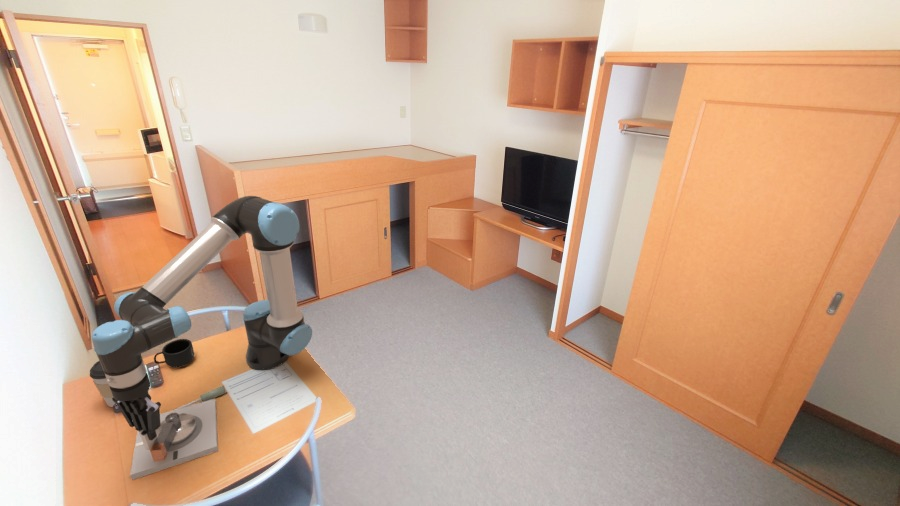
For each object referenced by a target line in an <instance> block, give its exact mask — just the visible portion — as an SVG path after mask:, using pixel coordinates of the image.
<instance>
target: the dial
mask: <svg viewBox="0 0 900 506" xmlns="http://www.w3.org/2000/svg"><path fill="white" fill-rule="evenodd" d="M195 430H196V422H195V418H194V417H193V416H192V415H190V414H186V413H183V414H178V413H171V414H169V415H167V416H166V418H165V420H164V421H163V422H161V423H160V427H158V428H157V429H156V430H155V431H156V434H157V439H156V441H155V443H154V445H153V446H152V448H151V450H150V453H151V455H152V458H153V461H154V462H155V461H162V460H165V458H166V456H167V453H168V451H169V449H170V446H174V445H177V444H180V443H182V442H184V441H185V440H187V439H188V438H189V437H190V436H191V435H192V434H193V433H194V432H195Z"/></svg>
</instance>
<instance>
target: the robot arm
mask: <svg viewBox="0 0 900 506" xmlns="http://www.w3.org/2000/svg"><path fill="white" fill-rule="evenodd" d="M299 232H300V221H299V218H298V215H297V214H296V212H295V211H294V210H293V209H292V208H290V207H288V206H287V205H284V204H282V203H280V202H276V201H272V200H268V199H266V198H264V197H263V198H262V197H260V196H257V195H247V196H242V197H238V198H236V199H234V200H233V201H230V202H229V203H228V204H226V205H225V206H224V207H222V208H221V209H220V210H219V211H217V212H216V213H215V214H214V215H213V216H212V217H211V218H210V224H208V225H207V226H206V228H204V229H203V230H202V231H200V233H199V234H197V235H196V237H194V238H193V239H192V240H191V241H190V242H189V243H187V245H186V246H185V247H183V248H182V249H181V250H180V251H179V252H178V253H177V254H176V255H175V256H174V257H173V258H171V260H169V262H167V264H165V265H164V266H163V267H162V268H161V269H159V271H157V273H155V274H154V275H153V276H152V277H150V279H148V281H146V283H145V284H144V285H142V286H141V287H140V288H139V289H138V290H137V291H136V292H135V291H131V292H130V291H129V292H126V293H124V294H121V295H120V296H119V297H118V298H116V300H115V302H114V305H113V310H114V313H115V314H116V315H117V317H119V319H115V320H114V321H108V322H105V323H102V324H101V325H99V326H97V327H96V328H95V329H94V330H93V331H92V333H91V340H92V341H91V342H92V344H93V351H94V352H95V354H96V356H97V358H98V361H100V363H101V366H102V368H103V371H104V373H105V376H106V378H107V381H106V382H107V383H108V384H109V386H110V390H111V392H112V395H113V398H112V400H113V401H114V402H115V403H116V405H117V406H116V407H118V409H119V410H120V413H121V415H122V416H123V418H124V419H125V421H126V422H127V425H128V426H129V427H130V428H133V427H134V429H135V430H136V431H139V433H140V436H141V438H142V441H143V444H144V446H145V449H147V450H151V448H152V446H153V445H154V443H155V441H156V439H157V434H156V431H155V430H156V429H157V428H158V427H160V414H161V411H160V408H161V406H162V403H161V402H160V401H157V402H154V401H153V400H152V396H151V395H150V394H149V390H150V387H151V381H150V378H149V375H148V373H147V368H146V365H145V362H144V359H143V356H142V354H143V353H146V352H148V351H150V350H152V349H153V348H156V347H158V346H161V345H163V344H165V343H167V342H171V340H173V339H174V340H175V339H177V338H178V337H179V336H181V335H184V334H185V333H187V332H189V331H190V330H191V329H192V319H191V317H190V315H189V313H188V312H187V310H185V309H184V307H182V306H180V305H175V306H173V307H168V309H165V308H164V307H165V306H166V305H167V304H168V303H169V302H170V301H171V300H173V298H175V296H176V295H178V293H179V292H180V291H182V290H183V289H184V288H185V287H186V286H187V285H188V284H189V283H190V282H191V280H193V279H194V278H195V277H196V276H197V275H198V274H199V273H201V271H202V270H203V269H204V268H206V266H207V265H209V263H210V262H211V261H213V259H215V257H216V256H218V255H219V254H220V252H222V250H224V249H225V248H226V247H227V246H228V245H230V243H231V242H232V241H238V240H240V238H242V236H243V235H245V234H250V236H251V241H252V247H253V248H254V249H255V251H258V252H259V255H260V260H261V266H262V271H263V276H264V277H263V278H264V283H265V284H264V285H265V289H266V295H267V299H262V300H261V299H260V300H257V301H255V302H253V303H251V304H249V305H247V306H246V307H245V308H244V310H243V311H242V317H243V319H242V320H243V322H244V328H245V332H246V337H247V343H248V345H247V348H246V349H247V350H246V354H245V360H246V364H247V366H249V368H251V369H252V370H257V371H259V370H260V371H266V370H271V369H275V368H277V367H279V366H281V365H282V364H284V363H285V362H286V361H287V360H288V359H289V358H290V356H296V355H298V354H299V353H301V352H302V351H303V350H305V349H306V348H307V347H308V345H309V343H310V342H311V340H312V337H313V328H312V327H311V326H310V324H307V323H305V317H304V312H303V310H301V309H300V308H299V307H298V303H297V295H296V286H295V278H294V273H293V272H294V271H293V264H292V258H291V257H292V256H291V251H290V249H291V248H292V246H293V245H294V242H295V240H296V238H297V234H298V233H299Z"/></svg>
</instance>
